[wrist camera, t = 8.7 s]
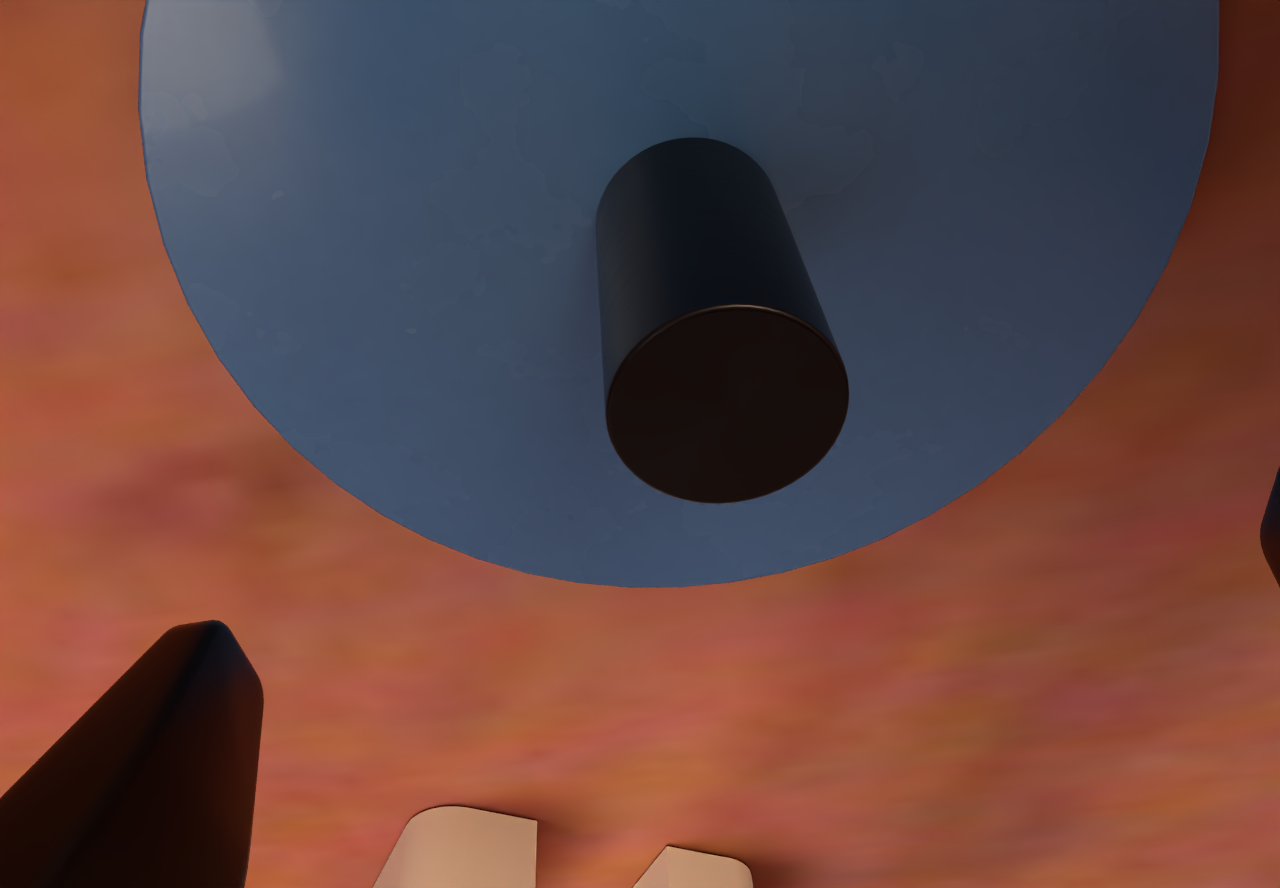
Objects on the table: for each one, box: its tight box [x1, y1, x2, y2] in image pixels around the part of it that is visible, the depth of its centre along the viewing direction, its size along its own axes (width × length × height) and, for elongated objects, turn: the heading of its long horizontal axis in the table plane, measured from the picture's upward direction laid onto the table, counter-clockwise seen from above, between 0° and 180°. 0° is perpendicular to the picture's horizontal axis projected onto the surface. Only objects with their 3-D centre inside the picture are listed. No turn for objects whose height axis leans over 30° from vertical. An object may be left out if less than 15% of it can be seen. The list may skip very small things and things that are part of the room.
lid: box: [138, 0, 1220, 587], centre depth 13 cm, size 15×15×6 cm
